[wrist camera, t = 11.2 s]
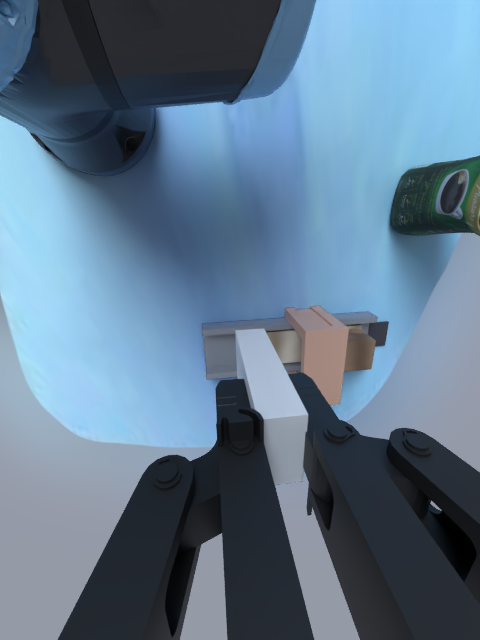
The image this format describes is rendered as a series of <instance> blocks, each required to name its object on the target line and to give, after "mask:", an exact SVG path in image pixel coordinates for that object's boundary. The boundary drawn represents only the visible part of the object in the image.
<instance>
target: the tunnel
mask: <svg viewBox="0 0 480 640" xmlns="http://www.w3.org/2000/svg"><path fill="white" fill-rule="evenodd" d="M285 318H286V319H287V320H288V322H289V323H290V324H291V325H292V327H293V328H294V329H295V330H296V332H297V333H298V334H299V335H300V337H301V338H302V353H301V373H305V374H306V375H307V376H309V377H310V378H312V379H313V381H314V382H315V384H316V385H317V387H318V388H319V390H320V391H321V393H322V395H323V396H324V397H325V399H326V401H327V402H328V404H329V405H335V404H340V400H341V392H342V383H343V375H344V366H345V358H346V349H347V341H348V332H349V328H348V327H347V326H346V325H344V324H343V323H342V322H340V321H339V320H338V319H336V318H335V317H334V316H332V315H331V314H330V313H328V312H327V311H326V310H324V309H323V308H322V307H321V306H310V309H297V310H296V309H295V308H285ZM292 373H297V371H293V372H287V374H292Z"/></svg>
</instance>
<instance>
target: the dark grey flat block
mask: <svg viewBox="0 0 480 640" xmlns="http://www.w3.org/2000/svg"><path fill="white" fill-rule="evenodd" d="M388 323H389V322H376V323H369V329H368V335H369V336H370V337H372V338H373V339H375V340H376V343H375V346H383V345H385V341H386V335H387V329H388Z"/></svg>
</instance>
